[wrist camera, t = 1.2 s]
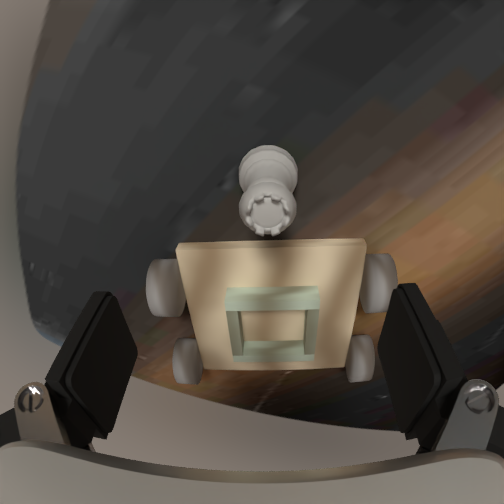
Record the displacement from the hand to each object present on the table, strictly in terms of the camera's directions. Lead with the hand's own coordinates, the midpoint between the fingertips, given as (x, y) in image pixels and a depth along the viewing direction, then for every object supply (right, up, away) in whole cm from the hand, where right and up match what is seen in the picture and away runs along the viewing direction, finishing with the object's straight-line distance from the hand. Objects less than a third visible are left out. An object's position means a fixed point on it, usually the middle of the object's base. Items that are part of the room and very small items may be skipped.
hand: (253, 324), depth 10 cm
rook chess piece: (+1, +9, +14) cm, 16 cm away
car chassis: (+2, -3, +21) cm, 21 cm away
